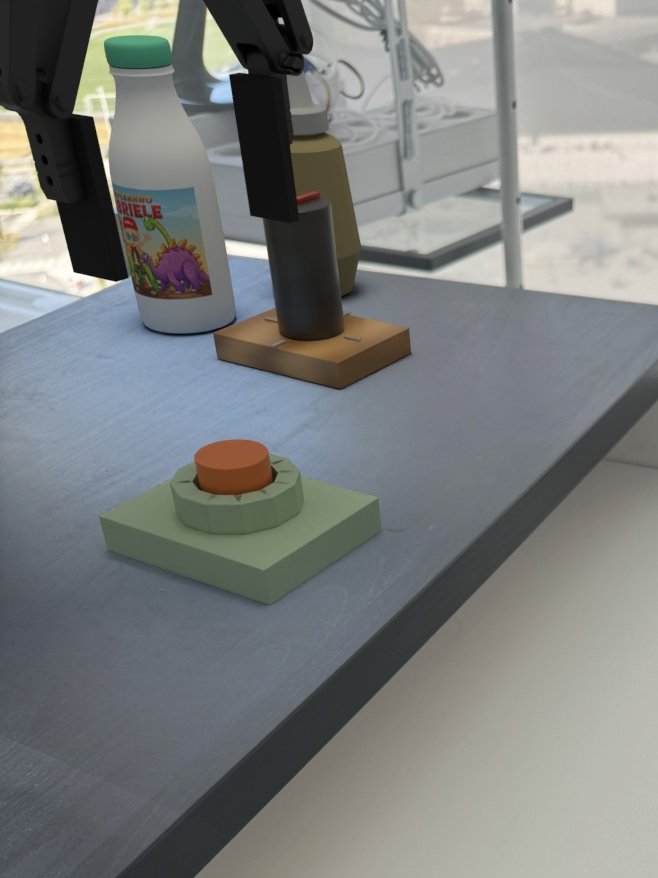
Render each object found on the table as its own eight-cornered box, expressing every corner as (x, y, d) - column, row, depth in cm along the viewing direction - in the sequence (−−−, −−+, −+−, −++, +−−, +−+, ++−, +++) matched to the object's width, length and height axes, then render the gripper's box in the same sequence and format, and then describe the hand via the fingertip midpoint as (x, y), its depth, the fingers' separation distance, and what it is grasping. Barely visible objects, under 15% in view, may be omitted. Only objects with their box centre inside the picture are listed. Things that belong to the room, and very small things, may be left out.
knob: (316, 344, 88) (299, 210, 82) (265, 332, 89) (244, 200, 83) (357, 326, 91) (344, 196, 85) (307, 314, 93) (290, 186, 87)
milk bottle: (180, 301, 101) (126, 28, 88) (255, 313, 99) (212, 35, 86) (121, 328, 95) (55, 40, 83) (200, 341, 93) (145, 49, 81)
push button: (184, 488, 65) (178, 458, 64) (233, 462, 68) (228, 433, 67) (239, 505, 64) (234, 475, 62) (287, 478, 66) (283, 448, 65)
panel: (216, 359, 90) (211, 330, 89) (293, 325, 97) (289, 298, 95) (339, 390, 86) (336, 360, 85) (412, 353, 92) (410, 325, 91)
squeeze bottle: (256, 299, 102) (219, 58, 90) (300, 273, 108) (271, 45, 96) (340, 310, 100) (313, 66, 89) (380, 283, 106) (360, 51, 95)
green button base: (107, 550, 67) (89, 485, 64) (227, 485, 74) (216, 424, 71) (270, 606, 62) (258, 538, 60) (382, 531, 69) (375, 467, 67)
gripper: (-140, -430, 34) (59, 325, 48) (355, -342, 51) (397, 204, 64) (-294, -418, 37) (-64, 294, 51) (223, -337, 53) (291, 186, 67)
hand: (194, 245), depth 58 cm, fingers open, 11 cm apart
